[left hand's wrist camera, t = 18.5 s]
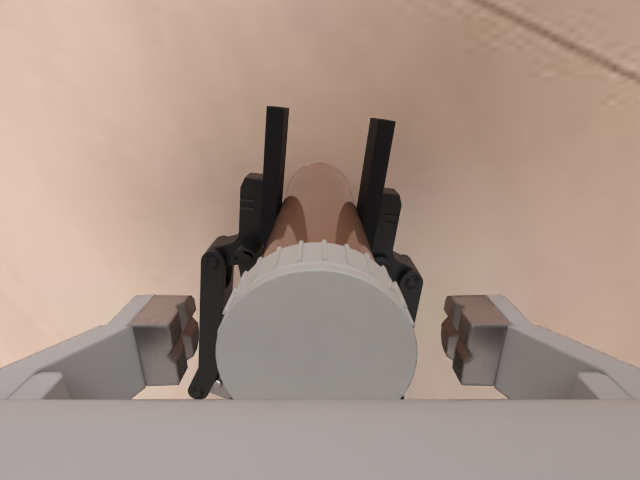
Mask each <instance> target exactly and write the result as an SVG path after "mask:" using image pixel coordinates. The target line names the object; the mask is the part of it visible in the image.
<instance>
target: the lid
mask: <svg viewBox="0 0 640 480" xmlns="http://www.w3.org/2000/svg"><path fill="white" fill-rule="evenodd" d="M222 314H224V315H225V316H224V318H223V320H222V322H221V324H220V326H219V329H218V331H217V334H218V335H217V341H216V362H217V368H218V371H219V375H220V378H221V380H222V382H223V384H224V386H225V388H226V390H227V391H228V393H229V394H230V396H231V397H232V398H233V399H400V398H401V397H402V396H403V395H404V393H405V391H406V390H407V388H408V387H409V385H410V382H411V380H412V378H413V375H414V371H415V367H416V363H417V341H416V337H415V333H414V330H413V327H415V325H414V322H413V320H412V318H411V315H410V313H409V311H408V308H407V304H406V302H405V300H404V298H403V295H402V293H401V291H400V289H399V286H398V284H397V282H396V281H395V282H392V280H391V278H390V277H389V275H388V272H387V270H386V267H385V266H384V265H383V266H381V267H380V266H379V265H378V264H377V263H376V262H375V261H373V260H372V259H370V256H369V254H368V253H365V254H362V253H360V252H358V251H356V250H354V249H351V248H349V245H348V244H345V245H344V246H342V245H337V244H333V243H326V240H322V242H309V243H304V242H303V240H302V241H299V244H296V245H292V246H288V247H285V248H282V247H281V246H280V247H277V250H276V251H275V252H273V253H271V254H270V255H268V256H266V257H264V258H262V257H260V258H258V260H257V263H256V264H255V265H254V266H253V267H252V268H251V269H250V270H249V271H248V272H247V271H245V272H244V273H243V275H242V277H241V279H240V281H239V284H238V286H237V288H236V287H234V290H233V292H232V294H231V296H230V298H229V300H228V302H227V304H226V306H225V309H224V311H223V313H222Z"/></svg>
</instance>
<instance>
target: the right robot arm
mask: <svg viewBox="0 0 640 480" xmlns="http://www.w3.org/2000/svg"><path fill="white" fill-rule="evenodd" d="M288 116H289V108H284V107H275V106H267V114H266V132H265V150H264V168H263V174H257V173H250V174H248V175H247V176H246V177H245V179H244V181H243V183H242V185H241V190H240V220H239V234H237V235H233V236H229V237H228V236H220V237H218V238H217V239H216V240H215V241H214V242H213V243H212V245H211V246H210V247H209V249H208V250H207V251H206V253H205V254H204V255H203V256H202V259H201V287H200V331H199V367H198V369H197V371H196V373H195V375H194V378H193V380H192V382H191V384H190V386H189V388H188V393H189V395H190V396H191V397H192V398H194V399H204V398H206V397H207V395H208V394H209V392H211V393H213V394H216V395H218V396H221V397H224V398H226V399H233V398H232V397H231V396H230V394H229V393H228V391H227V390H226V388H225V386H224V384H223V382H222V380H221V378H220V375H219V371H218V368H217V362H216V341H217V335H218V334H217V331H218V329H219V326H220V324H221V322H222V320H223V318H224V316H225V315H224V314H222V313H223V311H224V309H225V306H226V304H227V302H228V300H229V298H230V296H231V294H232V289H233V272H234V265H237V264H238V265H239V270H240V275H241V277H242V275H243V273H244V272H245V271H247V272H248V271H249V270H250V269H251V268H252V267H253V266H254V265H255V264H256V263H257V260H258V258H260V257H261V256H262V254H263V251H264V248H265V246H266V243H267V241H268V238H269V236H270V233H271V231H272V228H273V226H274V223H275V221H276V218H277V215H278V213H279V210H280V208H281V205H282V195H283V182H284V169H285V155H286V142H287V129H288ZM394 127H395V121H390V120H385V119H376V118H371V119H370V125H369V132H368V138H367V145H366V151H365V158H364V164H363V171H362V177H361V184H360V191H359V197H358V204H357V211H358V214H359V217H360V220H361V222H362V225H363V228H364V231H365V233H366V236H367V239H368V242H369V244H370V247H371V250H372V253H373V256H374V258H375V261H376V263H377V264H378V265H379V266H380V267H381V266H383V265H384V266H385V267H386V270H387V272H388V275H389V277H390V278H391V280H392V282H395V281H396V282H397V284H398V286H399V289H400V291H401V293H402V295H403V298H404V300H405V302H406V304H407V308H408V311H409V313H410V315H411V318H412V320H413V322H414V323H415V318H416V314H417V309H418V304H419V299H420V295H421V290H422V285H423V279H422V277H421V275H420V274H419V272H418V270H417V268H416V267H415V265H414V263H413V262H412V260H411V259H410V257H408V256H407V255H400V254H398V253H396V252H394V251H393V246H394V241H395V235H396V230H397V225H398V220H399V215H400V210H401V200H400V195H399V194H398V193H397V192H396V191H395V189H391V188H384V184H385V178H386V172H387V167H388V161H389V156H390V150H391V144H392V139H393V133H394ZM413 328H414V327H413ZM400 399H404V396H402V397H401V398H400Z"/></svg>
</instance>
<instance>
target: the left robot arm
mask: <svg viewBox="0 0 640 480" xmlns="http://www.w3.org/2000/svg"><path fill="white" fill-rule="evenodd" d="M195 311H196V306H195V300H194V298H193V297H192V296H188V295H136V296H135V297H134V298H133V299H132V300H131V301H130V302H129V303H128V304H127V305H126V306H125V307H124V308H123V309H122V310H121V311H120V312H119V313H118V314H117V315H116V316H115V317H114V318H113V319H112V320H111V321H110V322H109V323H108V324H107V325H106V326H98V327H96V328H93V329H91V330H89V331H86V332H84V333H82V334H79V335H77V336H75V337H72V338H70V339H68V340H65V341H63V342H61V343H58V344H56V345H54V346H51V347H49V348H47V349H44V350H42V351H40V352H37V353H35V354H33V355H30V356H28V357H26V358H23V359H21V360H19V361H16V362H14V363H12V364H9V365H7V366H5V367H2V368H0V480H640V368H637V367H635V366H633V365H630V364H628V363H626V362H623V361H621V360H619V359H616V358H614V357H612V356H610V355H607V354H605V353H603V352H600V351H598V350H596V349H593V348H591V347H589V346H586V345H584V344H582V343H579V342H577V341H575V340H572V339H570V338H568V337H565V336H563V335H561V334H558V333H556V332H554V331H551V330H549V329H547V328H544V327H542V326H534V325H533V324H532V323H531V322H530V321H529V320H528V319H527V318H526V317H525V316H524V315H523V314H522V313H521V312H520V311H519V310H518V309H517V308H516V307H515V306H514V305H513V304H512V303H511V302H510V301H509V300H508V299H507V298H506V297H505V296H503V295H500V294H499V295H460V296H447V298H446V301H445V306H444V311H445V312H446V314H447V316H448V317H447V318H446V319H445V320H444V321H443V323H442V328H441V341H442V346H443V349H444V352H445V354H446V356H447V357H449V358H450V359H452V360H453V366H452V368H453V370H454V372H455V373H456V375H457V377H458V379H459V381H460V383H461V385H478V386H495V387H494V388H496V389H497V390H498V391H500V392H501V393H502V394H503V395H505V396H506V397H507V398H509V399H132V398H133V397H134V396H135V395H137V394H138V393H139V392H141V391H142V390H143V389H144V388H145V386H162V385H179V383H180V381H181V379H182V377H183V375H184V373H185V372H186V370H187V368H188V366H187V360H188V359H190V358H191V357H193V356H194V354H195V352H196V350H197V346H198V341H199V327H198V323H197V321H196V320H195V319H194V318H193V317H192V316H193V314H194V312H195Z"/></svg>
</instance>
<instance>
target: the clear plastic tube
mask: <svg viewBox="0 0 640 480" xmlns="http://www.w3.org/2000/svg"><path fill="white" fill-rule="evenodd" d="M302 240H303V242H304V243H309V242H322V240H326V243H333V244H337V245H342V246H344V245H345V244H348V245H349V248H351V249H354V250H356V251H358V252H360V253H362V254H365V253H368V254H369V256H370V259H372V260H373V261H375V258H374V256H373V253H372V250H371V247H370V244H369V242H368V239H367V236H366V233H365V231H364V228H363V225H362V222H361V220H360V217H359V214H358V211H357V209H356V206H355V203H354V200H353V198H352V195H351V192H350V189H349V187H348V184H347V181H346V179H345V178H344V176H343V175H342V174H341V173H340V172H339V171H338V170H337V169H335V168H334V167H332V166H330V165H326V164H311V165H308V166H306V167H304V168H302V169H301V170H299V171H298V172H297V173H296V174H295V175H294V177H293V178H292V180H291V182H290V185H289V188H288V190H287V193H286V195H285V198H284V200H283V203H282V205H281V208H280V210H279V213H278V215H277V218H276V221H275V223H274V226H273V228H272V231H271V233H270V236H269V238H268V241H267V243H266V246H265V248H264V251H263V254H262V256H261V257H262V258H264V257H266V256H268V255H270V254H271V253H273V252H275V251H276V250H277V247H280V246H281V247H282V248H285V247H288V246H292V245H296V244H299V241H302ZM375 262H376V261H375Z"/></svg>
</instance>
